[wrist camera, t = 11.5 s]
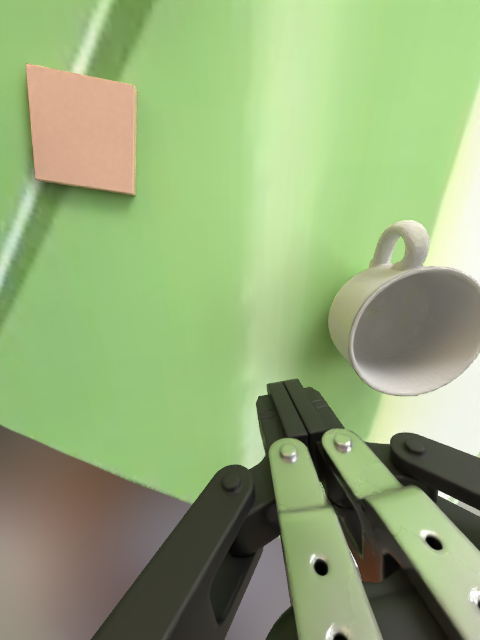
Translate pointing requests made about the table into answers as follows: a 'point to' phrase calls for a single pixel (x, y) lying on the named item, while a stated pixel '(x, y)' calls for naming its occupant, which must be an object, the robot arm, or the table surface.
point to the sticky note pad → (83, 130)
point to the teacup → (407, 318)
